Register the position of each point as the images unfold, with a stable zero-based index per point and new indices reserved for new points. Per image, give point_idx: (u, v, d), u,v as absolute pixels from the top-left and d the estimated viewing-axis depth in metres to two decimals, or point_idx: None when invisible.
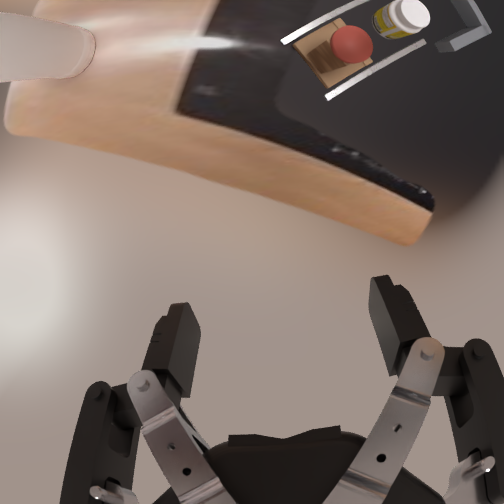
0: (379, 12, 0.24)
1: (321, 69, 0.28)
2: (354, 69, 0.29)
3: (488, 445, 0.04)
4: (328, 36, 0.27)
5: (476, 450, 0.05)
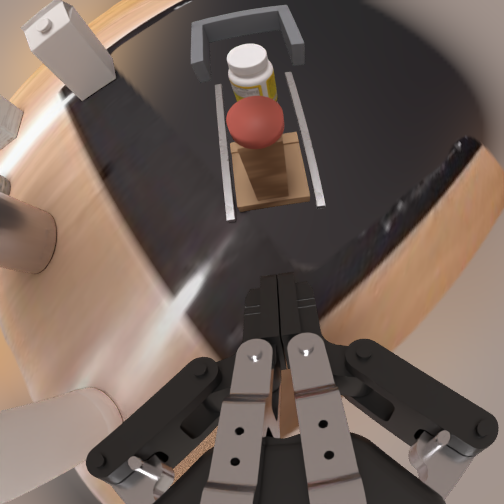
0: None
1: (282, 190, 0.26)
2: (298, 156, 0.28)
3: (431, 423, 0.06)
4: None
5: (419, 428, 0.07)
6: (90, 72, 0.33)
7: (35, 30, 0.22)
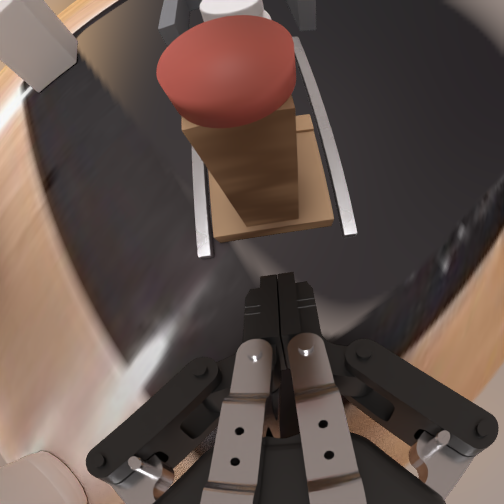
0: None
1: (288, 211, 0.15)
2: (314, 152, 0.17)
3: (431, 423, 0.06)
4: None
5: (419, 428, 0.07)
6: (44, 56, 0.22)
7: None
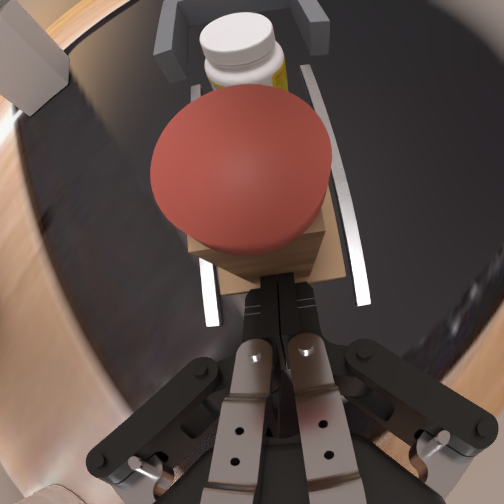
0: None
1: (300, 275, 0.14)
2: (326, 201, 0.16)
3: (431, 423, 0.06)
4: None
5: (419, 428, 0.07)
6: (33, 79, 0.22)
7: None
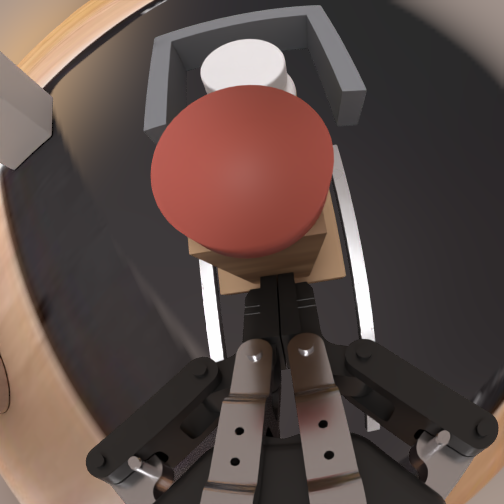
0: None
1: (300, 275, 0.14)
2: (326, 200, 0.16)
3: (431, 423, 0.06)
4: None
5: (419, 428, 0.07)
6: (11, 132, 0.20)
7: None
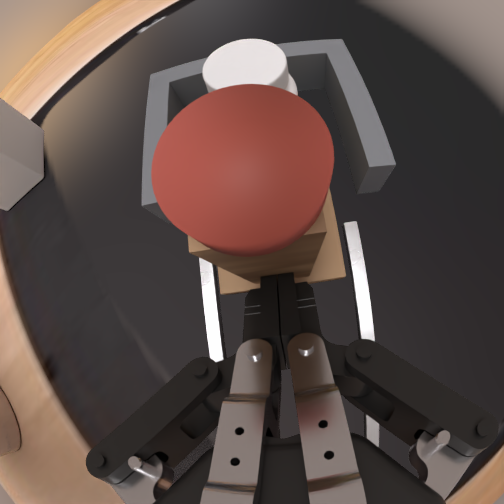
0: None
1: (300, 274, 0.14)
2: (326, 200, 0.16)
3: (431, 423, 0.06)
4: None
5: (419, 428, 0.07)
6: (0, 177, 0.19)
7: None
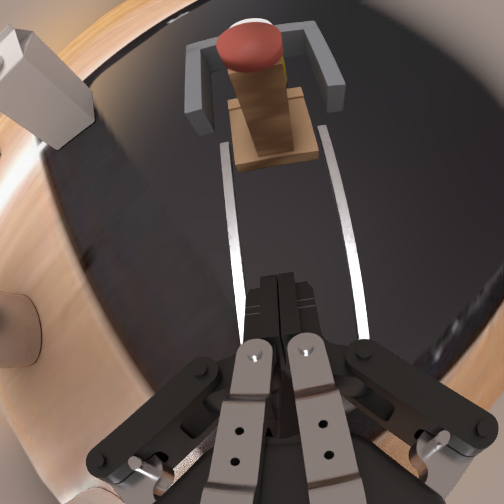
0: None
1: (286, 142, 0.22)
2: (304, 110, 0.24)
3: (431, 423, 0.06)
4: None
5: (419, 428, 0.07)
6: (60, 116, 0.27)
7: None
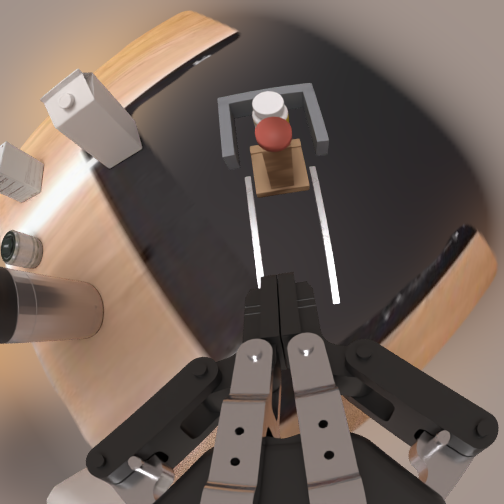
0: None
1: (289, 181, 0.36)
2: (301, 156, 0.38)
3: (431, 423, 0.06)
4: (263, 163, 0.39)
5: (419, 428, 0.07)
6: (117, 144, 0.40)
7: (56, 104, 0.29)
